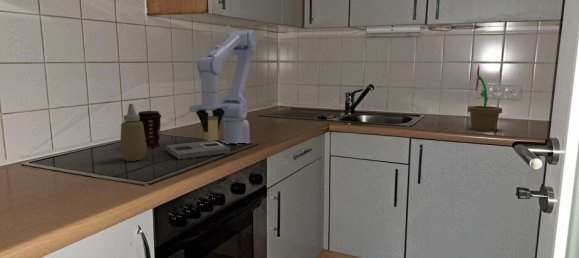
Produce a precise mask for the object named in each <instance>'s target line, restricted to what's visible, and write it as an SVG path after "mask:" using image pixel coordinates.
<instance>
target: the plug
mask: <svg viewBox="0 0 579 258" xmlns="http://www.w3.org/2000/svg"><path fill="white" fill-rule="evenodd" d="M203 139H204V140H205V141H214V140H215V141H219V131H218V117H217V116H213V115H208V132H204V131H203Z"/></svg>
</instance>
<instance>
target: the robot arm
mask: <svg viewBox="0 0 579 258" xmlns="http://www.w3.org/2000/svg"><path fill="white" fill-rule="evenodd" d="M257 39H258V38H257V34H256V32H255V31H254V30H253V29H249V30H247V29H246V30H230V31H229V32H228V33H227V38H226V39H225V40H224V42H223V43H222V44H221V45H215V46H214V47H213V49H212V50H211V51H210V52H209V53H208V54H207V55H206V56H202V57H200V58H199V59H198V61H197V64H196V70H197V71H198V77H199V79H200V86H201V87H200V89H201V90H200V91H201V93H200V94H201V104H195V105H189V112H191V113H196V115H197V117H198V119H199V122H200V124H201V128H202V131H203V133H204V132H208V116H210V113H209V112H208V111H212V116H217V117H218V132H219V131H220V126H221V121H223V140H220V141H221V142H223V143H222V144H224V143H225V144H224V145H226V144H229V143H236V144H237V143H246V144H250V143H251V141H250V138H251V137H250V123H249V120H247V119H246V118H247V115H248V101H247V99H245V98H244V92H245V88H246V83H247V80H248V75H249V70H250V66H251V61H252V57H253V55H255V51H256V47H257V42H258V40H257ZM231 51H232V53H233V54H234V55H235V56H237V60H236V65H235V69H234V73H233V76H232V81H231V84H230V90H229V93H228V94H227V95H225V96H224V97H222V98H221V99H222V100H221V102H220V103H219V73H221V70H222V66H223V65H224V64H223V63H225V62H226V61H227V59H229V57H230V53H231ZM221 142H220V143H221ZM249 142H250V143H249ZM237 145H238V144H237Z"/></svg>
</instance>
